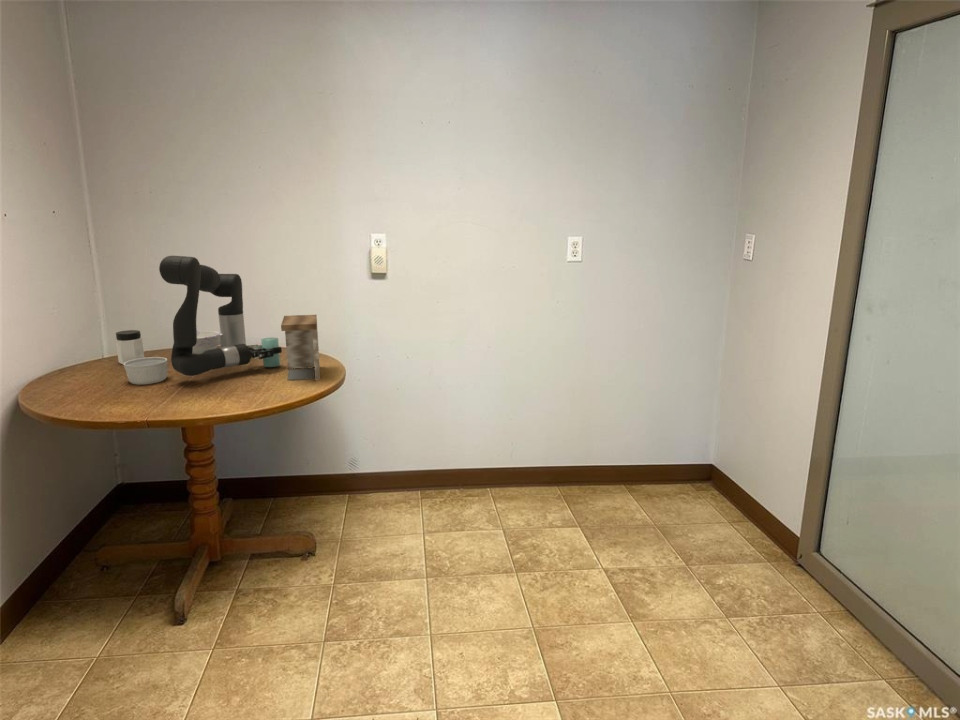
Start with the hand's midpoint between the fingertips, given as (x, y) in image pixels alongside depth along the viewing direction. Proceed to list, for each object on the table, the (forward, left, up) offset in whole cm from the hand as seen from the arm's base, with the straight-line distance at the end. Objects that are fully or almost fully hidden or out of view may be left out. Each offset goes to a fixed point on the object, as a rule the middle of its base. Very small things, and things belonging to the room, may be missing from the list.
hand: (276, 348), depth 222 cm
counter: (+10, -15, -7) cm, 19 cm away
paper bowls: (-32, +32, -7) cm, 46 cm away
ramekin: (-42, -11, -7) cm, 44 cm away
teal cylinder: (-2, -1, -6) cm, 6 cm away
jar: (-55, +19, -7) cm, 59 cm away
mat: (+9, -16, -7) cm, 19 cm away
